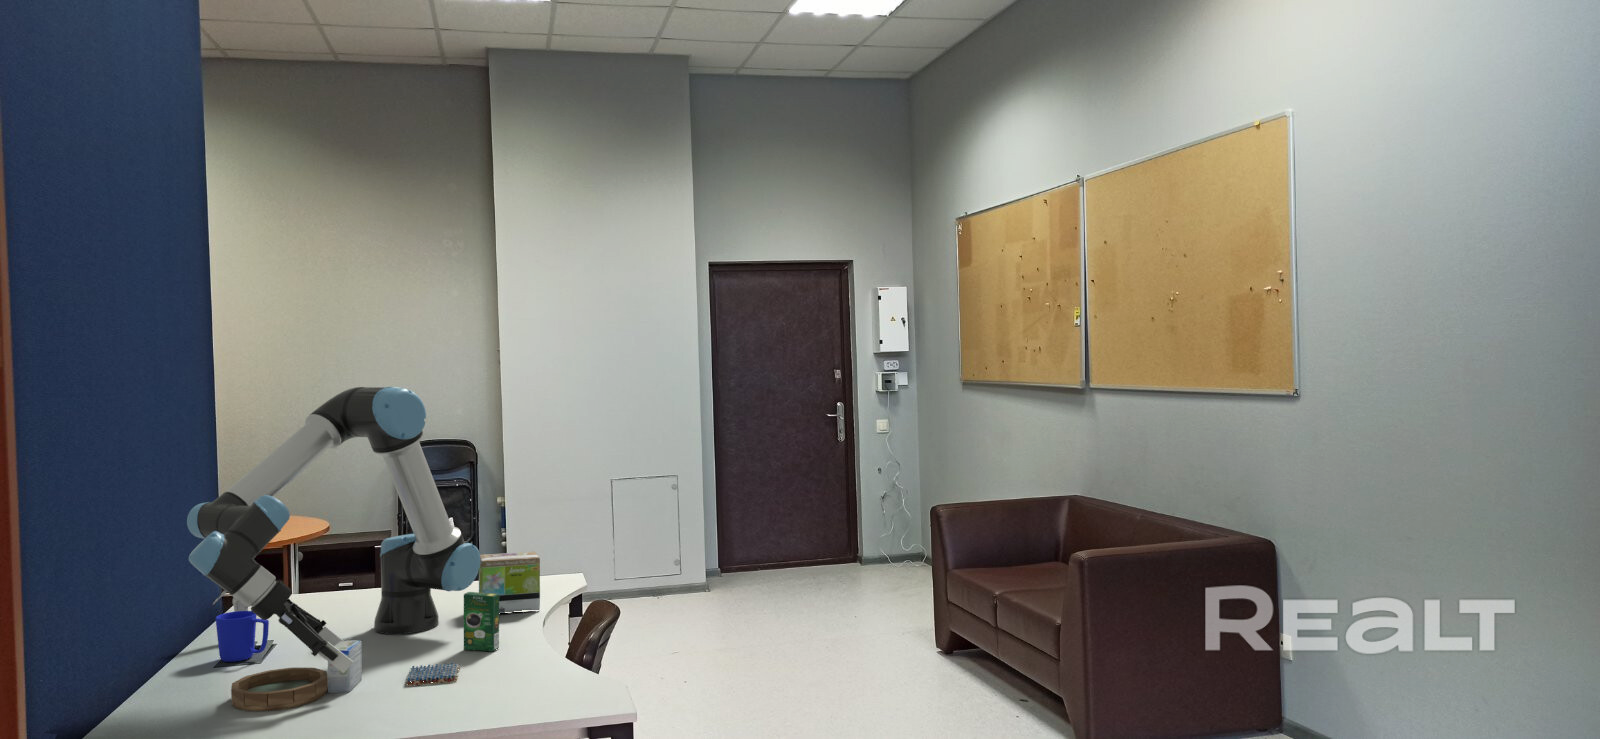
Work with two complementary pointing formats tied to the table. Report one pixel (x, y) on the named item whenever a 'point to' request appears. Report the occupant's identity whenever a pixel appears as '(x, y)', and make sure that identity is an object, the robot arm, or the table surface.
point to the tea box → (511, 580)
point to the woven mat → (432, 674)
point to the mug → (239, 635)
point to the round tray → (279, 689)
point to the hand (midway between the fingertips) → (346, 658)
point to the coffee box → (481, 621)
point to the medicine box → (353, 674)
